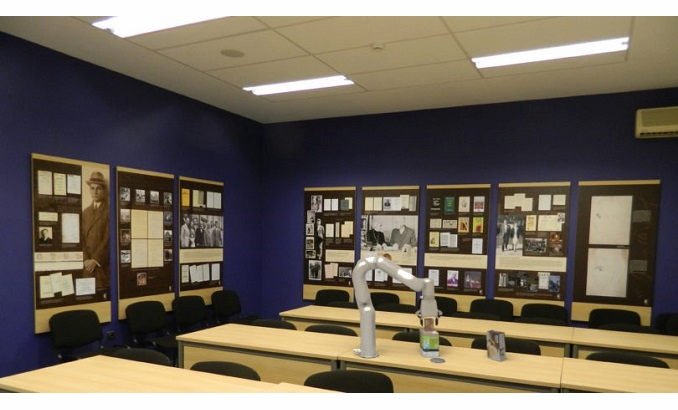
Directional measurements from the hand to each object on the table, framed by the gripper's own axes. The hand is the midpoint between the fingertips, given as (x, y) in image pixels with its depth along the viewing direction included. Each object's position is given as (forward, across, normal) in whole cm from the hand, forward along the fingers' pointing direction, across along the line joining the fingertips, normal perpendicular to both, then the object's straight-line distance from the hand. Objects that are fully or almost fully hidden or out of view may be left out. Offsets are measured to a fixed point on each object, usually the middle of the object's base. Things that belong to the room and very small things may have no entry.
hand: (429, 325), depth 277 cm
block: (+3, 0, 0) cm, 3 cm away
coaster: (+18, +1, -15) cm, 23 cm away
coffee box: (+18, +37, -14) cm, 43 cm away
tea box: (+18, 0, 0) cm, 18 cm away
